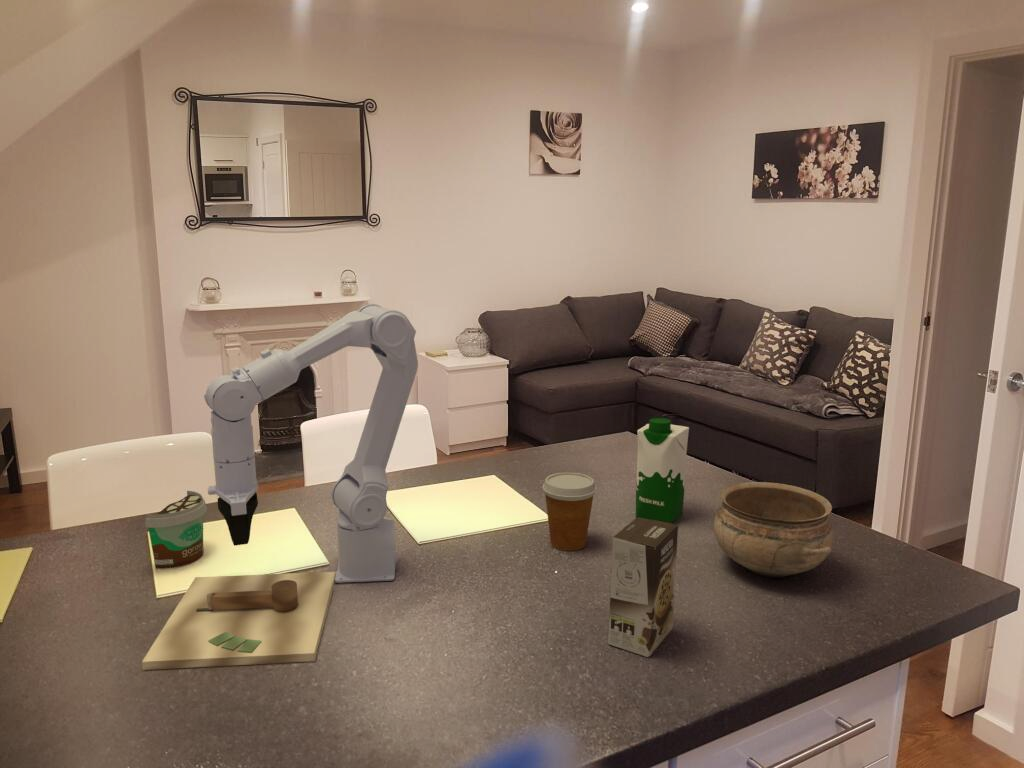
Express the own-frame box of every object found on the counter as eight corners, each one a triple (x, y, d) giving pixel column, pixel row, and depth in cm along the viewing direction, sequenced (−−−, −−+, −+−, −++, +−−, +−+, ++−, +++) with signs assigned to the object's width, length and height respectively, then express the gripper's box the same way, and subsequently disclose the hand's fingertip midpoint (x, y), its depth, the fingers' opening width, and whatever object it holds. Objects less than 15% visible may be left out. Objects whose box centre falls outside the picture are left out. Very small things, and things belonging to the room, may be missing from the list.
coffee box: (650, 658, 106) (655, 547, 102) (606, 645, 109) (610, 536, 106) (674, 629, 113) (680, 524, 110) (633, 616, 117) (637, 514, 113)
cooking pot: (680, 547, 141) (683, 482, 138) (767, 532, 147) (772, 470, 144) (771, 613, 118) (777, 537, 115) (870, 593, 124) (878, 520, 122)
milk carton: (629, 519, 153) (633, 419, 149) (647, 504, 161) (651, 409, 156) (672, 529, 149) (677, 426, 144) (689, 513, 156) (694, 416, 152)
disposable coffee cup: (534, 549, 139) (534, 485, 137) (551, 529, 148) (552, 468, 145) (585, 558, 136) (587, 493, 133) (600, 537, 144) (602, 475, 142)
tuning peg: (299, 599, 119) (298, 579, 118) (295, 611, 115) (294, 591, 114) (211, 602, 117) (209, 583, 117) (204, 615, 114) (202, 594, 113)
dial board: (335, 578, 128) (335, 570, 128) (314, 661, 105) (314, 651, 105) (196, 584, 126) (195, 576, 126) (142, 670, 103) (141, 660, 103)
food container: (183, 575, 129) (178, 518, 127) (150, 572, 130) (144, 515, 128) (224, 544, 141) (220, 492, 139) (193, 541, 142) (189, 489, 140)
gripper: (205, 446, 121) (212, 528, 124) (205, 475, 108) (213, 567, 111) (253, 441, 124) (259, 522, 127) (258, 469, 111) (265, 559, 114)
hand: (240, 543), depth 119 cm, fingers closed
